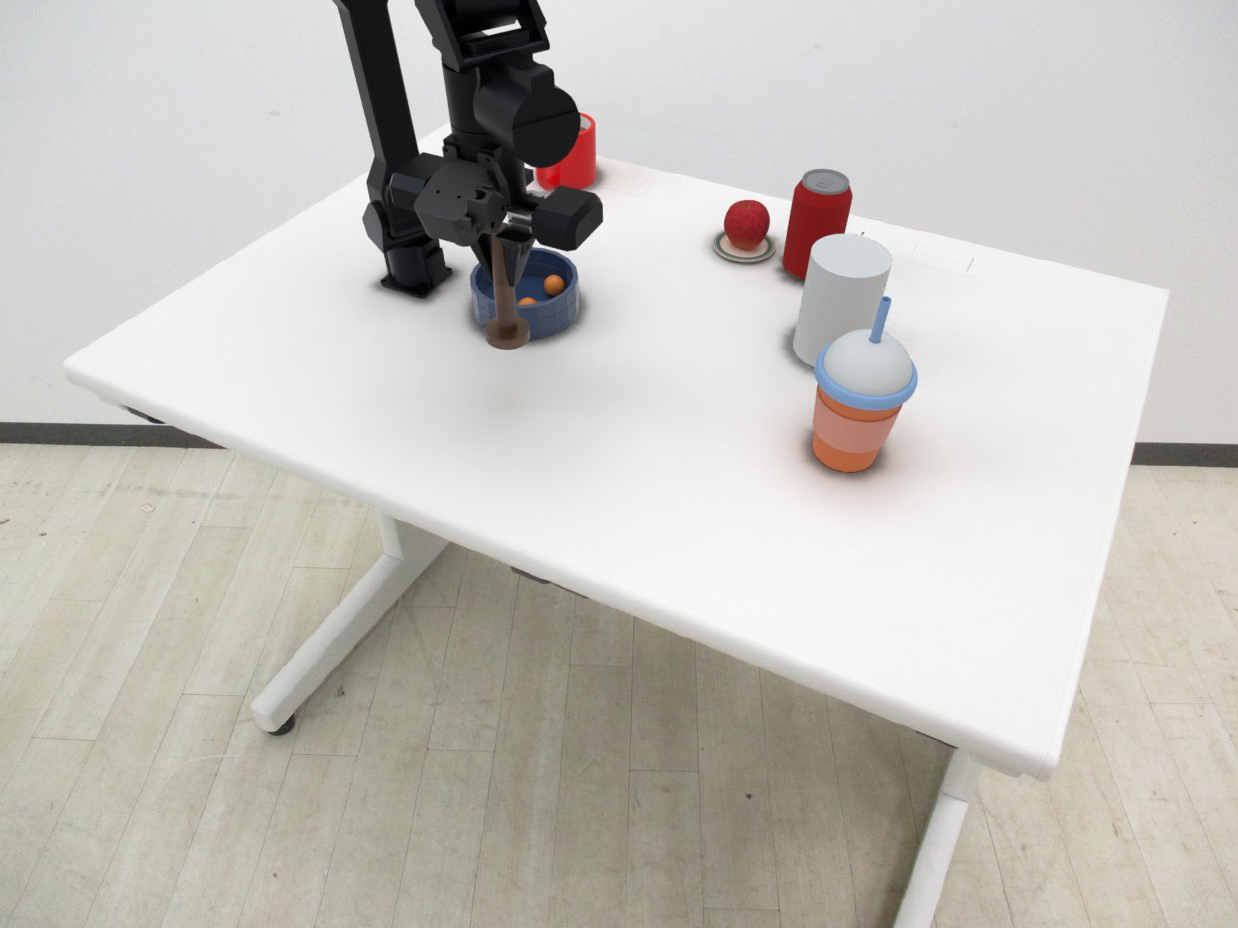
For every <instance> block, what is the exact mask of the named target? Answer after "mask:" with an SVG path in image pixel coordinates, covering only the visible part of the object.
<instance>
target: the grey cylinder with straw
mask: <svg viewBox="0 0 1238 928" xmlns="http://www.w3.org/2000/svg"><path fill="white" fill-rule="evenodd" d="M892 301H893V300H892V298H891V297H890V296H887V295H883V297H882V298H881V300H880V304H879V307H878V311H877V315H876V318H875V322H874V325H873V329H862V330H856V331H852V332H849V333H847V334H845V335H843V336H841V337H840V338H838V339H837V340H836V341H834V342H832V343H830V344H829V345H827V346H826V347H825V348H824V349H823V350H822V351H821V352H820V353H819V355H818V357H817V359H816V362H815V367H813V368H814V377H815V380H816V382H817V384H816V388H815V389H816V391H815V398H814V409H813V417H812V418H813V419H812V426H813V434H812V451H813V453H814V455H815V457H816V458H817V459H818V461H819V462H820V463H822V464H823V465H824V466H826V467H828V468H830V469H832V470H835V471H837V472H842V473H856V472H860V471H863V470H866V469H868V468H869V467H870V466H871V465H872V464H873V463H874V461H875V459H877V456H878V455H879V452H880V450H881V448H882V446H883V445H884V444H885V443H886V441H887V440H888V438H889V435H890V433H891V431H892V429H893V427H894V425H895V423H896V421H897V419H898V418H899V417H898V416H899V414H900V412H901V411H902V408H903V405H904V404H905V403H907V401H908V400H909V399H911V397H912V396H913V395H914V394H915V391H916V389H917V387H918V382H919V381H918V380H919V378H918V377H919V376H918V375H919V374H918V370H917V367H916V365H915V363H914V361H912V358H911V357H910V355H909V353H908V351H907V349H906V347H905V346H904V345H903V344H902V343H901V342H900V341H899V340H898V339H897V338H895V337H894V336H893V335H891V334H889V333H888V332H885V331H884V329H885V326H886V322H887V319H888V314H889V311H890V307H891V304H892Z"/></svg>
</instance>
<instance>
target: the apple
mask: <svg viewBox="0 0 1238 928" xmlns="http://www.w3.org/2000/svg"><path fill="white" fill-rule="evenodd" d="M770 225H771V216H770V213H769V210H768V208H767V207H766V206H765V205H764V204H763V203H762V202H760V201H759V200H755V199H743V200H737V201H736V202H734V203H732V204H730V206H729V208H728V209H727V211H726V213H725V215H724V219H723V230H721V231H719V232H717V233H716V234H715V236H714V237H713V239H712V247H713V249H714V251H715V252H716V253H717V254H718V255H720V256H722V257H723V258H726V259H729V260H731V261H734V262H741V263H753V262H760V261H763V260H766V259H768V258H769V257H771V256H772V255H773V254H774V252H775V250H776V242H775V240H774V238H773V237H771V236H770V234H768V232H769V229H770Z"/></svg>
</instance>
